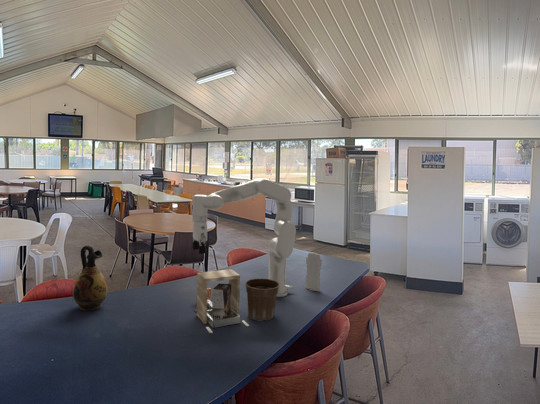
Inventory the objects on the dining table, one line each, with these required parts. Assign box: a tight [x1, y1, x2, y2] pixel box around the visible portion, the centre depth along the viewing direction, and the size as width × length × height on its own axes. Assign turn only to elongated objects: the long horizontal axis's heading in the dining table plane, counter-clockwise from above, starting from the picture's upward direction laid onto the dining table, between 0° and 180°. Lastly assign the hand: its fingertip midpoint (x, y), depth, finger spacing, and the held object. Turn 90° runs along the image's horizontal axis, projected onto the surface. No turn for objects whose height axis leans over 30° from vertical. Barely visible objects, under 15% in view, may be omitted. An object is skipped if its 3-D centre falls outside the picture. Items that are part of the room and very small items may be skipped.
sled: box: [207, 287, 242, 329], centre depth 182 cm, size 13×33×6 cm, turn 28°
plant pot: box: [244, 277, 280, 322], centre depth 179 cm, size 16×16×16 cm
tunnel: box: [196, 268, 241, 325], centre depth 177 cm, size 17×11×20 cm, turn 118°
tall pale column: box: [305, 252, 323, 292], centre depth 221 cm, size 11×4×22 cm, turn 51°
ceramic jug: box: [72, 244, 108, 312], centre depth 184 cm, size 17×15×30 cm
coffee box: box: [211, 283, 232, 320], centre depth 173 cm, size 9×6×16 cm
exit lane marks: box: [205, 320, 250, 334], centre depth 167 cm, size 18×6×1 cm, turn 118°
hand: (198, 251), depth 197 cm, fingers open, 9 cm apart
